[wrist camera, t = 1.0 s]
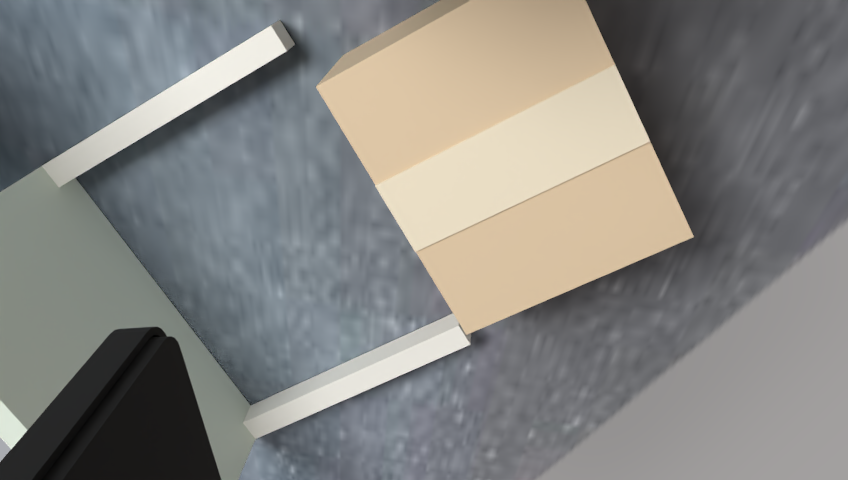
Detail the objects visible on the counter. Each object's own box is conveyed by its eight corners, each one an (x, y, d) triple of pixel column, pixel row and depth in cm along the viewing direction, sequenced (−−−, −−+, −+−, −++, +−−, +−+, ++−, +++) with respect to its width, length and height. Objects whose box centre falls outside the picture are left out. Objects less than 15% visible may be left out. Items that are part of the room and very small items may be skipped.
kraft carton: (550, -63, 32) (562, -51, 26) (663, 183, 36) (694, 238, 30) (343, 54, 35) (315, 87, 29) (470, 270, 39) (466, 335, 33)
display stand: (279, 20, 34) (179, 84, 23) (471, 328, 40) (463, 498, 29) (39, 166, 38) (-144, 281, 27) (245, 429, 43) (162, 612, 33)
